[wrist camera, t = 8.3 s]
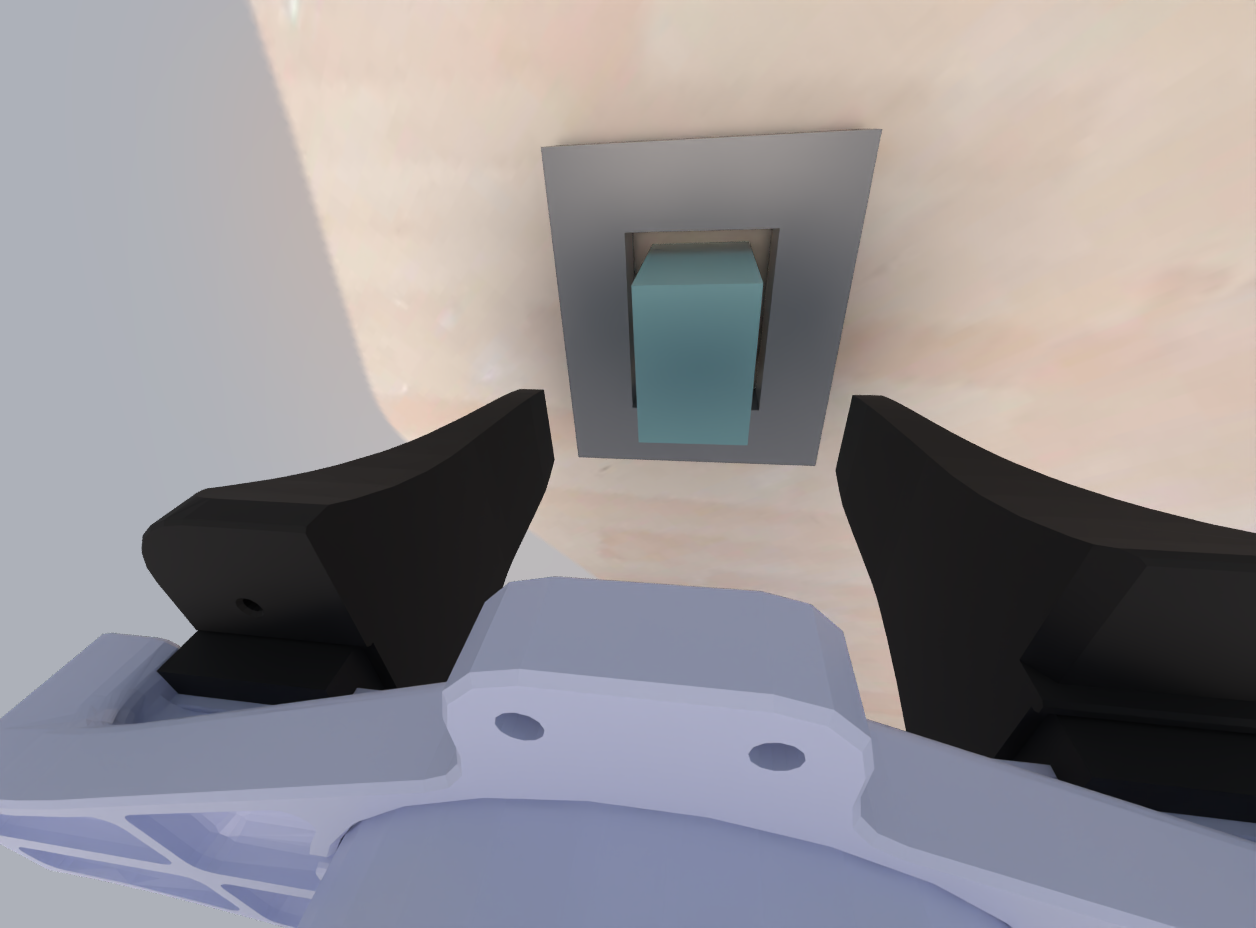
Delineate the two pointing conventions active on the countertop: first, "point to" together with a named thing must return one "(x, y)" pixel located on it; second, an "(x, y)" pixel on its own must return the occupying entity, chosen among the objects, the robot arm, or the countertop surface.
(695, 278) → the plug
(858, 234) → the socket plate
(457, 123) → the countertop surface
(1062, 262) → the countertop surface
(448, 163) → the countertop surface
